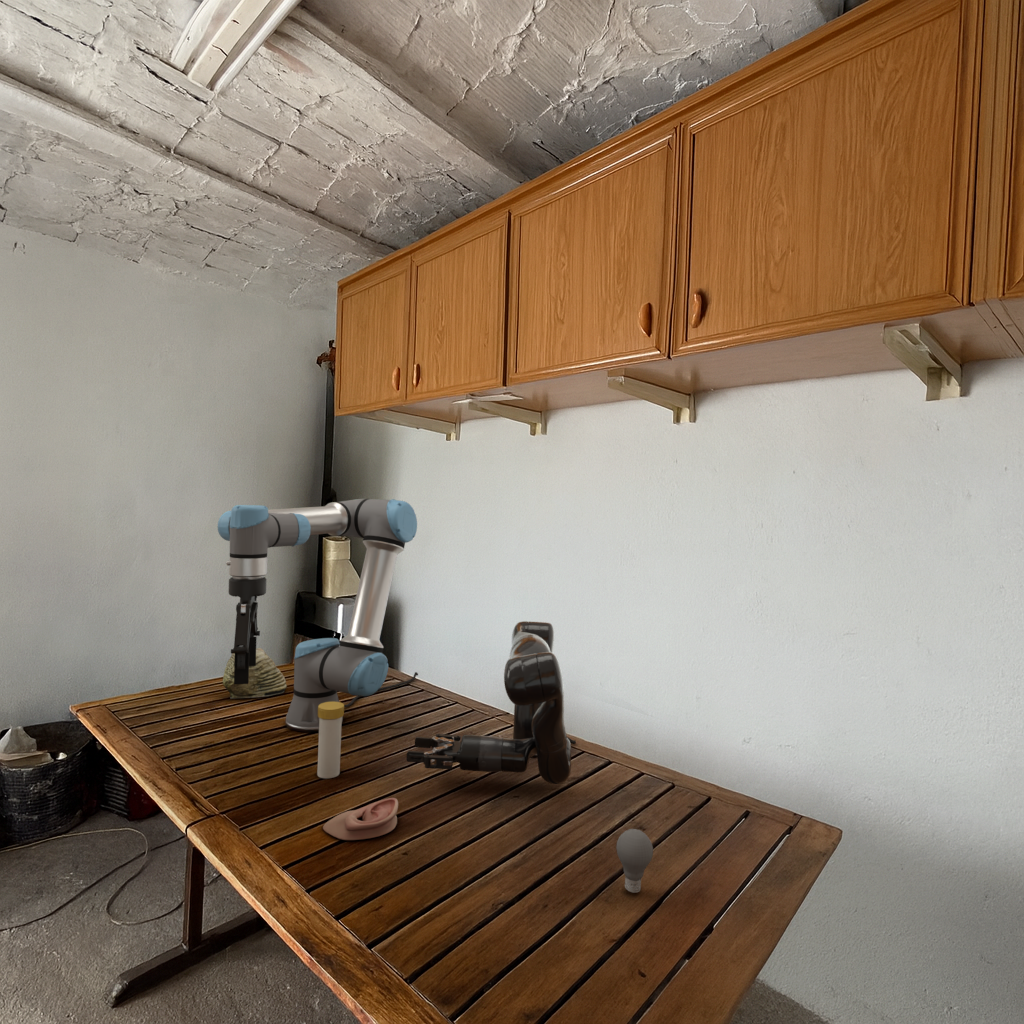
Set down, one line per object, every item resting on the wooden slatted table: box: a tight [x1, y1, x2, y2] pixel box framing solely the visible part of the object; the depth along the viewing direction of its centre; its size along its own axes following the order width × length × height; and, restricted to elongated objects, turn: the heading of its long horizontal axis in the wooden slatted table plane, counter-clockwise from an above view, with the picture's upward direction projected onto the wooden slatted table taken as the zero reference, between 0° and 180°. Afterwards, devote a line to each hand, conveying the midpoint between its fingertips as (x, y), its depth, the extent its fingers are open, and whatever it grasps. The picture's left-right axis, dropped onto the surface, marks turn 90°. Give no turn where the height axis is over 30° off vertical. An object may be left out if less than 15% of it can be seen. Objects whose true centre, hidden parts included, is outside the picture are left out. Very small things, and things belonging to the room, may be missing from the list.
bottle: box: [316, 717, 343, 779], centre depth 145 cm, size 5×5×15 cm
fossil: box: [222, 647, 288, 699], centre depth 198 cm, size 9×18×15 cm, turn 132°
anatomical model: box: [322, 797, 399, 841], centre depth 122 cm, size 13×4×12 cm
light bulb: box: [615, 828, 654, 894], centre depth 106 cm, size 6×6×10 cm
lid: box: [318, 701, 345, 720], centre depth 145 cm, size 6×6×2 cm
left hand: (245, 674), depth 137 cm, fingers open, 13 cm apart
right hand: (411, 748), depth 143 cm, fingers open, 8 cm apart
